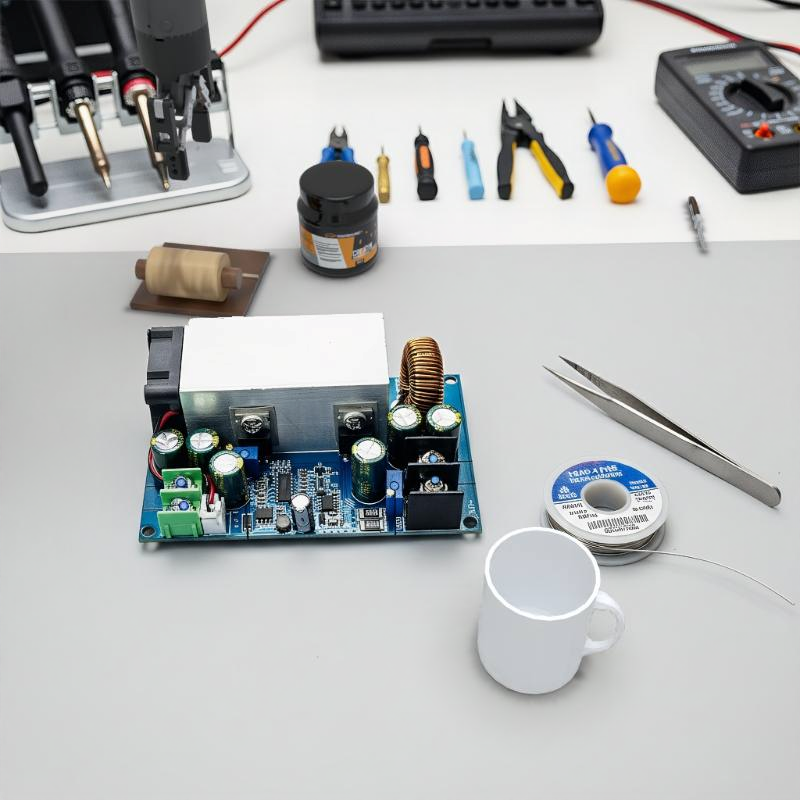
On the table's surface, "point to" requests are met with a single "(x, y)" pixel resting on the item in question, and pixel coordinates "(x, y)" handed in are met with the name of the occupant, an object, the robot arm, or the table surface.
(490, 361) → the table surface
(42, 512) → the table surface
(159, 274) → the rolling pin
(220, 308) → the pastry board
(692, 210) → the pocket knife
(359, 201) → the supplement container
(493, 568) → the mug
